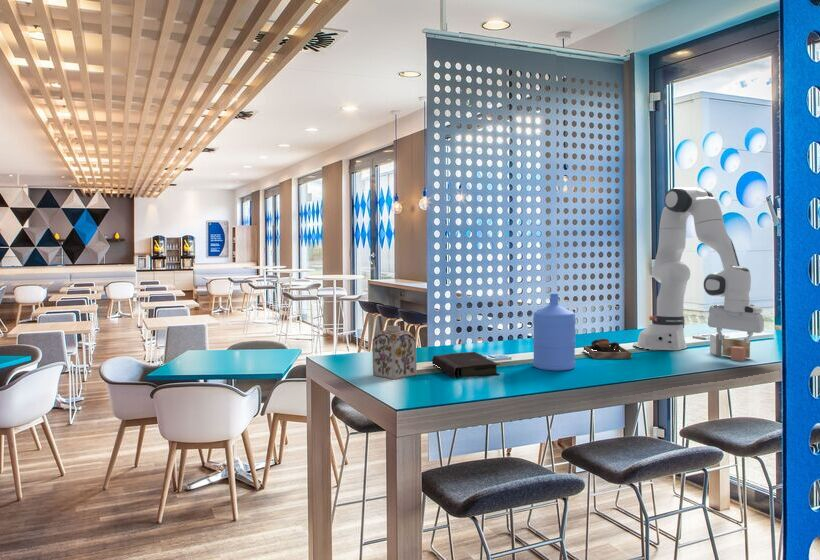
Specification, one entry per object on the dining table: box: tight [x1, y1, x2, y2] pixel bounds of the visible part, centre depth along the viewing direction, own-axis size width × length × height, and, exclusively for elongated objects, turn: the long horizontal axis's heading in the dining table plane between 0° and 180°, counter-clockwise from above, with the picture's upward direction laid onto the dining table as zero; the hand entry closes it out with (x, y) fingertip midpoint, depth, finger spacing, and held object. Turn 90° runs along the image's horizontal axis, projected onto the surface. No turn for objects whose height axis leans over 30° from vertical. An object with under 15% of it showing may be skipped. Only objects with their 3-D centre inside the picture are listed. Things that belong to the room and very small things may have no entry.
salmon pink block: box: [730, 346, 747, 361], centre depth 253 cm, size 4×4×5 cm
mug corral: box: [583, 345, 633, 360], centre depth 266 cm, size 15×17×2 cm
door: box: [722, 337, 751, 359], centre depth 257 cm, size 10×2×7 cm, turn 49°
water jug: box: [532, 293, 576, 372], centre depth 241 cm, size 16×16×28 cm
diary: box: [431, 351, 501, 379], centre depth 237 cm, size 19×25×5 cm
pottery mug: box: [590, 338, 620, 352], centre depth 264 cm, size 12×10×8 cm
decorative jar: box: [372, 325, 418, 381], centre depth 229 cm, size 12×12×18 cm
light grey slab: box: [709, 333, 723, 357], centre depth 264 cm, size 2×8×9 cm, turn 178°
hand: (733, 341), depth 252 cm, fingers open, 8 cm apart
